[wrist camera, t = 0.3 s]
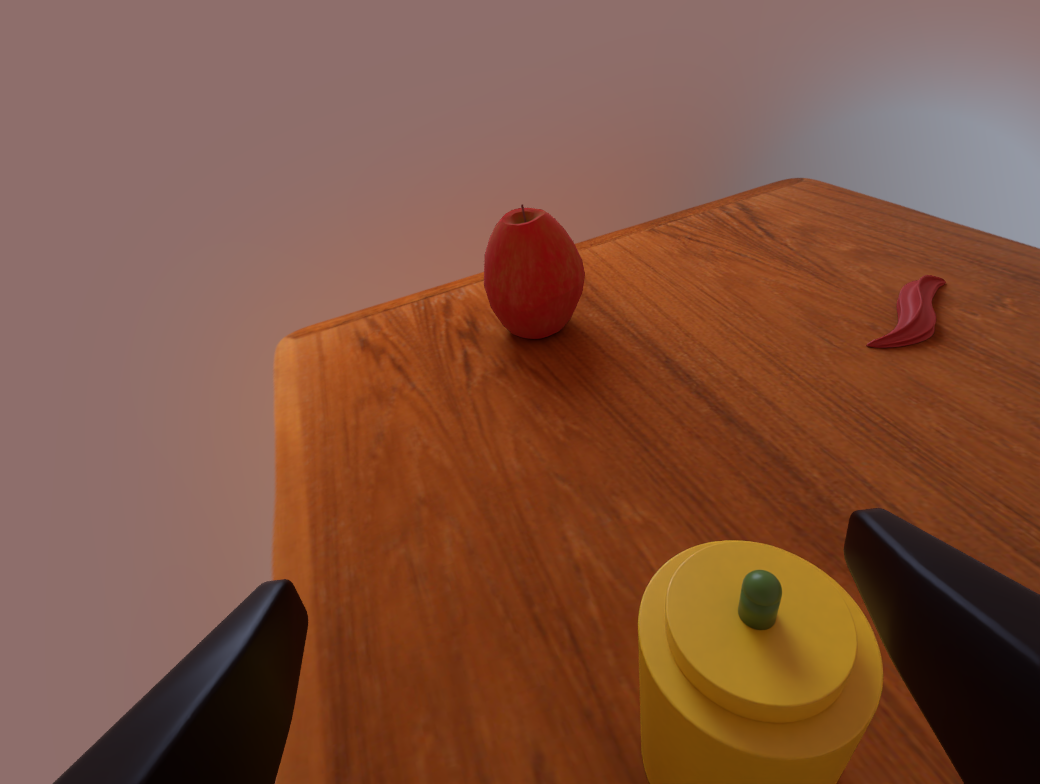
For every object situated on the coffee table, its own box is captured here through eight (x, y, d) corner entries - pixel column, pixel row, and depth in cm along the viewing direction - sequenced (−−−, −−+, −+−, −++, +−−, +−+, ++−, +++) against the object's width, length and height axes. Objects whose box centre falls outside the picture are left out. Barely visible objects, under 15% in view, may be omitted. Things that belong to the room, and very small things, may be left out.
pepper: (859, 847, 19) (980, 688, 12) (666, 873, 19) (676, 730, 12) (775, 658, 24) (826, 470, 17) (624, 680, 25) (614, 502, 18)
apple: (605, 314, 49) (598, 191, 43) (548, 363, 45) (530, 233, 38) (532, 295, 54) (515, 181, 47) (473, 337, 49) (446, 218, 43)
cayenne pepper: (898, 359, 39) (906, 335, 38) (835, 333, 42) (840, 311, 41) (990, 295, 43) (999, 272, 42) (926, 277, 47) (933, 255, 45)
